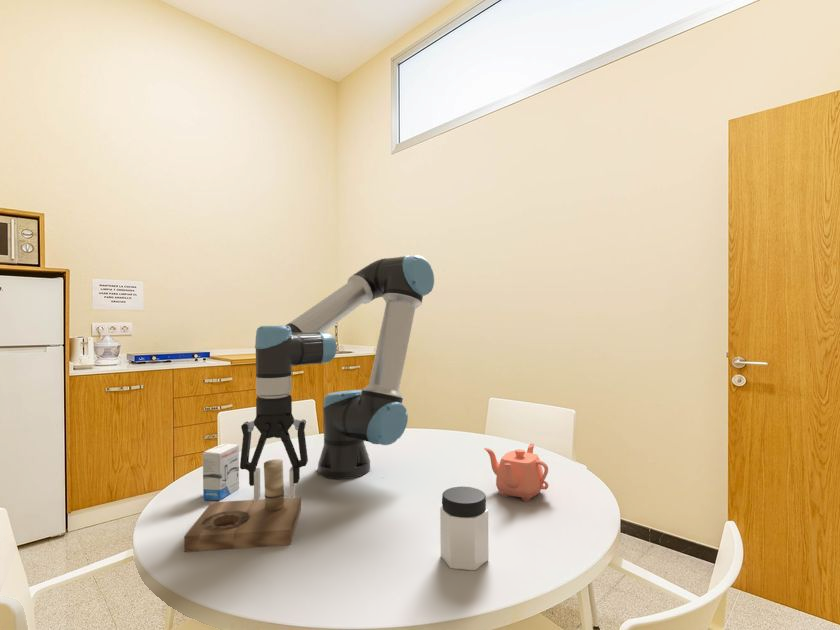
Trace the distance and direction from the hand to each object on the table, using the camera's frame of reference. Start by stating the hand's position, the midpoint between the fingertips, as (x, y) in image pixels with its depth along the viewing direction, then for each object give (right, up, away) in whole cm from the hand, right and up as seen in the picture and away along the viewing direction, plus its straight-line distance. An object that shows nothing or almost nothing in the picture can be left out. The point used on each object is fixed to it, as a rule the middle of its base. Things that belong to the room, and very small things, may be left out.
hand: (274, 498), depth 101 cm
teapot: (+57, -5, +15) cm, 59 cm away
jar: (+41, -5, -16) cm, 44 cm away
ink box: (-19, -5, +16) cm, 25 cm away
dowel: (0, -2, 0) cm, 2 cm away
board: (-5, -5, -4) cm, 8 cm away
